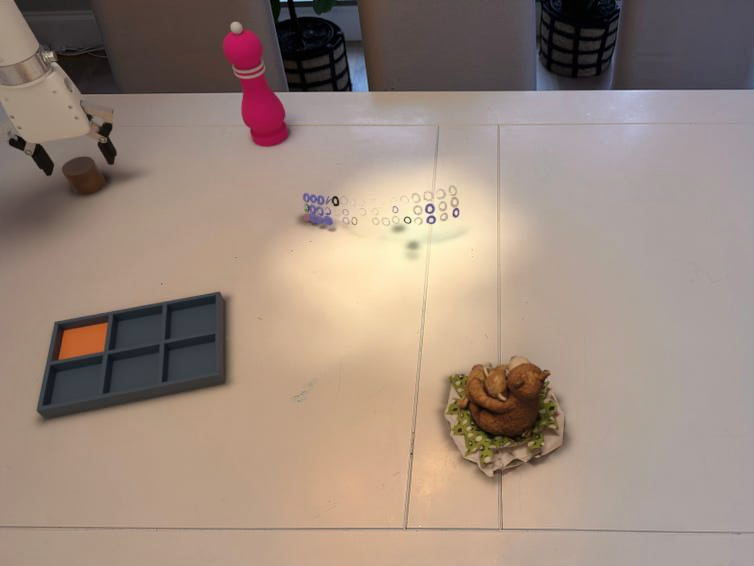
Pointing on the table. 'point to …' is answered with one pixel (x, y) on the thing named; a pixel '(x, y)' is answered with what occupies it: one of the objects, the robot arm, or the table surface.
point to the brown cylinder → (83, 175)
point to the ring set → (329, 221)
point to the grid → (134, 355)
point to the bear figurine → (504, 414)
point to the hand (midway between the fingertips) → (82, 165)
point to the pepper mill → (255, 87)
